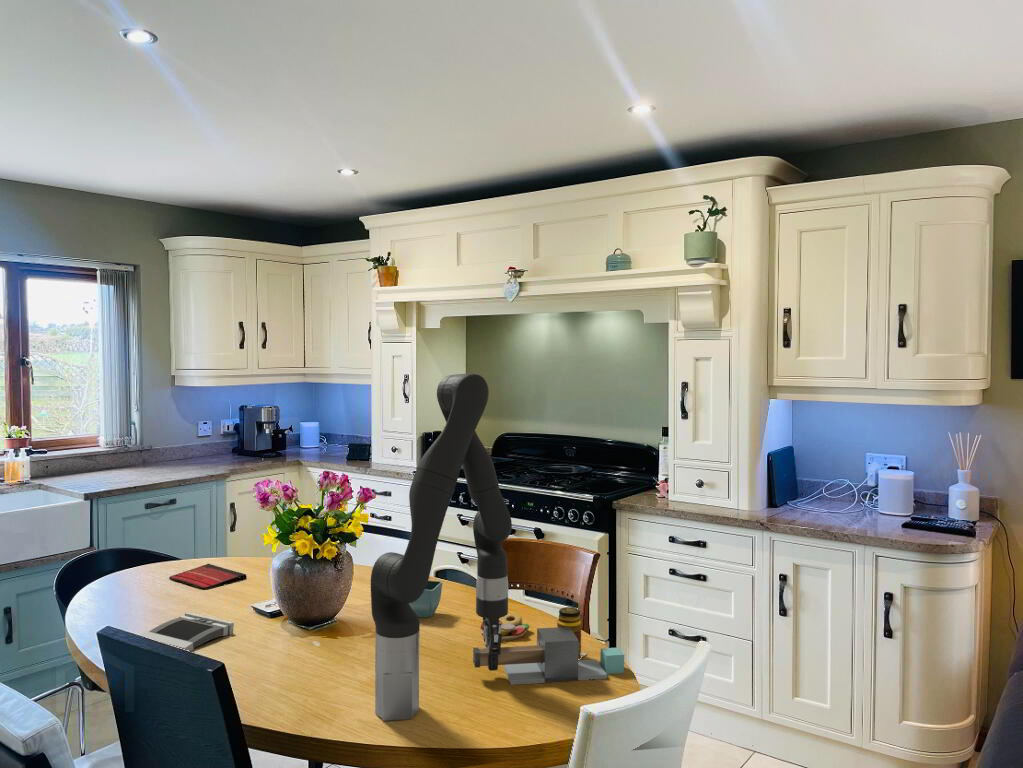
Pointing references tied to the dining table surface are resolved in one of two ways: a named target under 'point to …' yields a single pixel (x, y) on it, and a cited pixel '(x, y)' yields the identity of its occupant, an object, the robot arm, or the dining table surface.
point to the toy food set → (511, 627)
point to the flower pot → (428, 599)
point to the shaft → (510, 655)
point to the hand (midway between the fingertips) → (491, 666)
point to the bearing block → (558, 653)
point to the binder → (207, 576)
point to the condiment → (571, 623)
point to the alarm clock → (190, 630)
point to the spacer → (612, 660)
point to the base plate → (534, 675)
